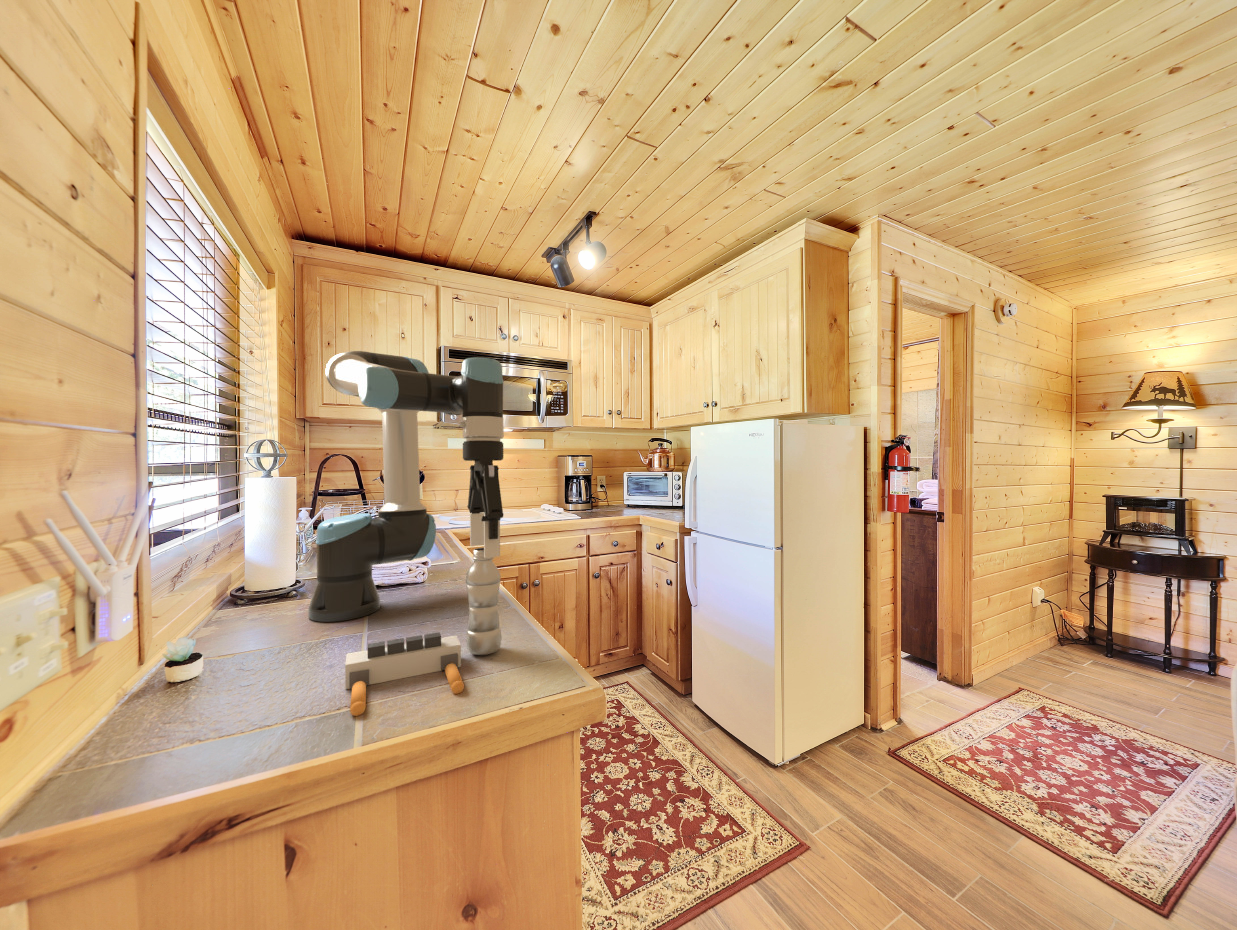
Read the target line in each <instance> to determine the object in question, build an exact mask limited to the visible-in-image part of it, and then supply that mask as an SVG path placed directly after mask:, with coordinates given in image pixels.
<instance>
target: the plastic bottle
mask: <svg viewBox="0 0 1237 930" xmlns="http://www.w3.org/2000/svg"><path fill="white" fill-rule="evenodd" d="M472 553H473V554H472V555H473V556H472V560H473V563H472V565H471V566H470V567H469V569H468V571H467V572H466V573H465V574H466V575H465V585H466V592H467V599H468V621H467V623H468V625H467V626H468V627H467V630H466V636H465V637H466V638H465V644H466V647H467V650H468V652H469V653H470V654H472V655H476V656H486V655H490V654H491V655H492V654H494V653H495V652H497V651H499V649H500V647H501V645H502V638H503V637H502V631H501V627H500V620H499V593H500V585H501V577H502V576H501V573H500V570H499V568H498V567H497V565H496V564H495V563H494V561H493V559H495V557H490V558H484V547H477V548H474V549H473V551H472Z"/></svg>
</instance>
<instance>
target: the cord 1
mask: <svg viewBox="0 0 1237 930" xmlns="http://www.w3.org/2000/svg"><path fill="white" fill-rule="evenodd" d="M366 697H367V685H366V684H365V682H363V681H358V682H356V683H355V684H354V685H353V687H352V688H351V696H350V706H349V709H350V710H349V712H350V714H351V715H352V716H354V717H358V716H361V715H363V714H364V712H365V710H366V705H367V703H366V702H367V698H366Z"/></svg>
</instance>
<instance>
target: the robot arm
mask: <svg viewBox="0 0 1237 930" xmlns="http://www.w3.org/2000/svg"><path fill="white" fill-rule="evenodd" d="M460 374H461V375H458V376H456V375H448V374H447V375H446V374H438V373H437V374H436V373H430V372H429V370H428V368H427V365H425V364H424V362H423V361H421V360H419V359H417V358H412V357H408V356H405V355H403V356H401V355H392V354H384V353H377V352H372V351H371V352H369V351H363V350H351V351H345V352H341V353H339V354H335V355H334V356H332V357H331V358H330V359H329V361H328V363H326V368H325V378H326V380H327V382H328V384H329V385H330V387H332V388H333V389H334V390H335V391H337V392H338V393H341V394H343V395H346V396H353V397H358V398H359V400H360V402H361V404H362V405H364V406H365V407H368V408H375V409H377V410H378V411H379V412H380V413H381V420H382V421H381V425H382V427H381V428H382V458H383V461H382V463H383V464H382V465H383V490H384V491H383V492H384V498H383V499H384V504H383V505H382V506H381V508H380V509H378V511H377V513H378V518H373V516H372V514H370V513H367V512H366V513H364V512H363V513H356V514H355V513H354V514H353V513H351V514H346V515H341V516H337V517H336V516H335V517H331V518H328V519H326V520H323V521H322V522H320V523H319V524H318V526H317V529H316V540H315V544H316V586H315V588H314V591H313V594H312V595H311V596H312V597H311V599H310V602H309V606H308V611H307V612H308V615H307V616H308V619H309V620H311V621H313V622H321V623H322V622H323V623H329V622H330V623H331V622H343V621H348V620H353V619H359V618H363V617H366V616H369V615H371V614H374V613H376V612H377V611H379V610H380V608H381V598H380V595H379V592H378V589H377V586H376V585H375V582H374V579H373V571H372V570H373V566H375V565H381V564H382V565H384V564H389V563H397V562H402V561H403V562H405V561H411V562H412V561H414V560H417V559H421V558H425V557H427V556H428V555H429V554H430V553H431V551H432V549H433V547H434V545H435V543H436V542H435V541H436V535H437V525H436V522H435V521H436V520H435V517H434V516H433V515H432V514H430V513H428V512H427V507H426V506H425V505H424V504H423V503H422V502H421V494H420V493H421V488H420V486H421V484H420V462H419V461H420V459H419V458H420V457H419V456H420V455H419V428H418V414H419V412H430V413H431V412H432V413H443V414H445V415H449V416H450V415H451V416H452V415H453V416H460V415H462V416H461V417H462V421H461V422H459V428H463V429H462V437H463V439H464V440H465V441H463V442H462V459H463V461H465V462H467V461H469V462H472V461H473V462H474V463H473V464H474V465H473V464H471V465H470V466H469V471H470V472H469V473H470V475H469V476H470V477H469V488H468V489H469V490H468V497H467V499H468V501H467V506H466V507H467V509H468V511H469V543H470V545H469V546H471V547H475V546H477V547H479V546H483V548H484V558H490V557H494V558H496V557H497V558H499V557H501V519H502V518H504V511H503V503H502V494H501V485H500V480H499V479H500V478H499V477H500V476H499V465H494V463H493V462H495V461H497V462H498V461H503V460H504V443H503V441H501V440H502V439H504V432H505V431H504V379H503V365H502V363H501V362H500V361H498V360H496V359H495V358H490V357H467V358H465V359H464V360H463V361H462V364H461V371H460Z"/></svg>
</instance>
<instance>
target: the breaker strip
mask: <svg viewBox="0 0 1237 930" xmlns="http://www.w3.org/2000/svg"><path fill="white" fill-rule="evenodd" d="M423 635H424V637H423ZM386 643H387V644H386ZM345 658H346V659H345V664H344V666H345V667H344V668H345V669H344V672H345V673H344V674H345V675H344V677H345V682H344V683H345V687H344V688H345V690H349V689H352V687H353V685H354V684H355V683H356V682H358V681H363V682H365V684H366V686H370V685H375V684H379V683H384V682H390V681H395V680H400V679H406V678H410V677H416V676H420V675H424V674H425V675H427V674H431V673H436V672H441V671H445V668H446V666H447V665H448V664H451V663H452V664H455V665H456V666H457V668H461V667H462V646H461V642H460V640H459V638H458V636H457V635H451V636H445V637H442V635H441V632H435V633H434V632H432V633H427V634H422V635H415V636H409V637H406V638H404V637H401V638H396V639H389V640H387V641H377V642H371V643H367V650H359V651H354V652H348V653H346V657H345Z"/></svg>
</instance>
